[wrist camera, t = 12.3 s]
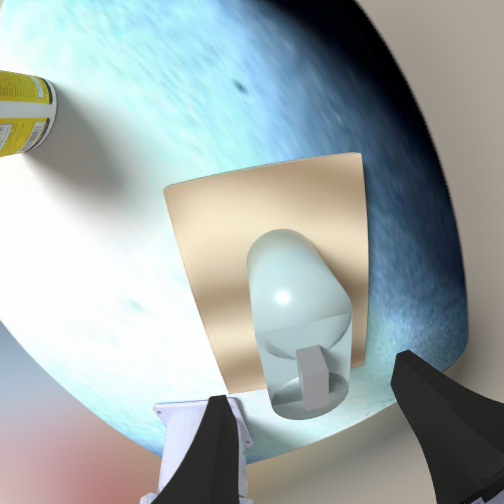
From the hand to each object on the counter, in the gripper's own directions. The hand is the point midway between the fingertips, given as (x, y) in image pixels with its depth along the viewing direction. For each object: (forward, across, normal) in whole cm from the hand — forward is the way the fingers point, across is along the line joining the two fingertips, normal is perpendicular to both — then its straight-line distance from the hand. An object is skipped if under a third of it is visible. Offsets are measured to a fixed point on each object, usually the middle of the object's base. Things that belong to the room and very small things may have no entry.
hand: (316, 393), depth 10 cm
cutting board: (+9, 0, 0) cm, 9 cm away
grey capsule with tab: (+8, 0, 0) cm, 8 cm away
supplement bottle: (+9, +14, -16) cm, 24 cm away
